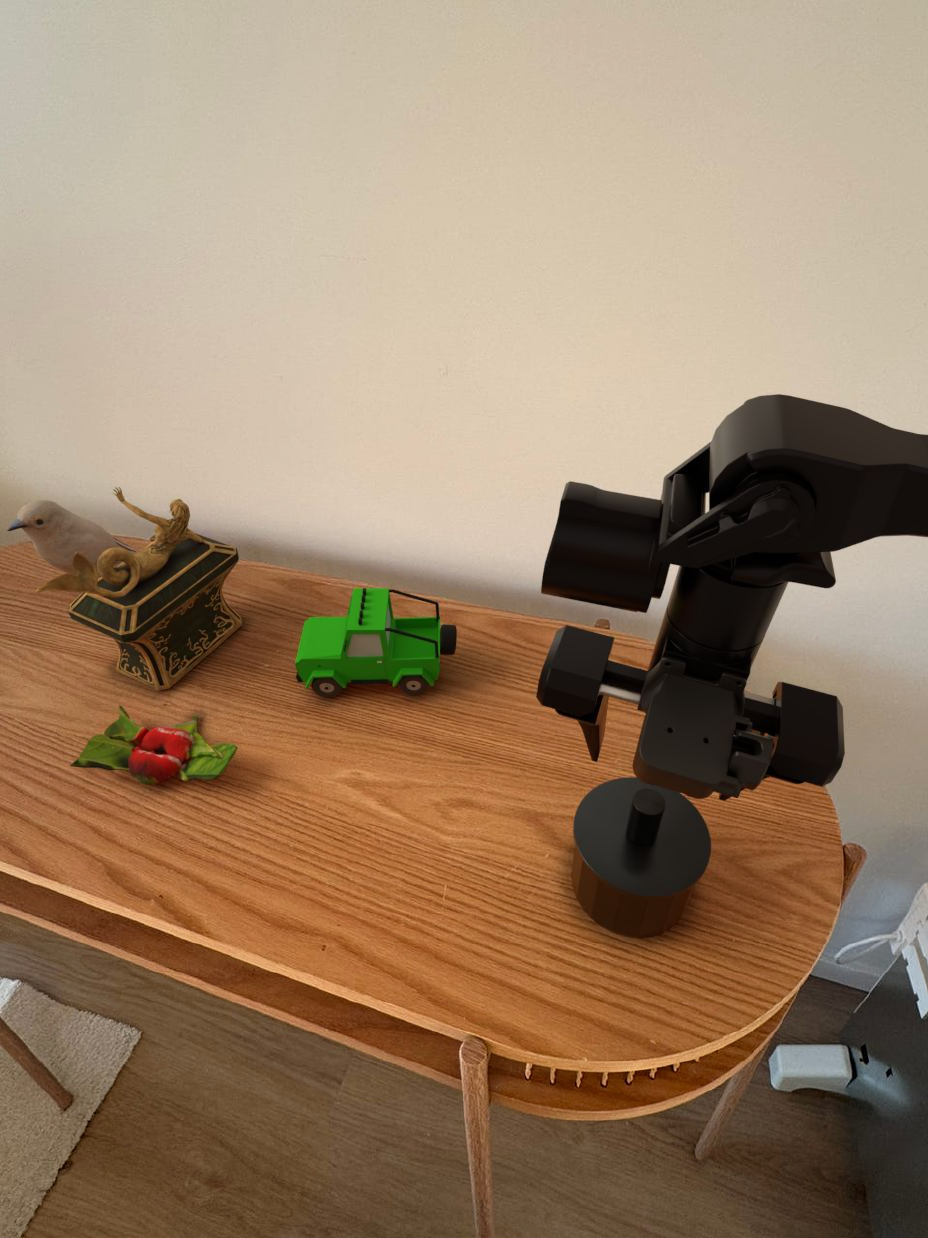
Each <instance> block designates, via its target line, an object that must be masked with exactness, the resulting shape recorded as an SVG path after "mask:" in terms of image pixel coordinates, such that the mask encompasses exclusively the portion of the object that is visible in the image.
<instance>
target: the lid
mask: <svg viewBox="0 0 928 1238" xmlns="http://www.w3.org/2000/svg"><path fill="white" fill-rule="evenodd" d="M572 833H573V834H572V835H573V842H574V845H575V846H576V848H577V851H578V853H579V855H580V857H581V859H582V861H583V862H584V864H585V865H586V867H587V868H588V869H589V870H590V871H591V872H592V874H593V875H594V876H596V877H597V878H598V879H599V880H600V881H601V882H603V883H604V884H606V885H607V886H609V887H610V888H612V889H614V890H616V891H618V892H621V893H623V894H625V895H629V896H632V897H636V898H642V899H664V898H668V897H673V896H676V895H678V894H681V893H683V892H685V891H686V890H688V889H690V888H691V887H692V886H693V885H695V884H696V885H697V883H698V882H699V881H700V880H701V878H703V876H704V874H705V873H706V871H707V868H708V865H709V863H710V859H711V854H712V840H711V835H710V830H709V828H708V825H707V822H706V821H705V819H704V817H703V816H702V814H701V812H700V811H699V810H698V808H697V807H696V806H695V805H694V803H692V802H691V800H689V799H688V798H687V796H686V795H684V794H683V793H679V792H676V791H673V790H670V789H666V788H663V787H660V786H655V785H650V784H646V783H644V782H642V781H640V780H639V779H638V778H637V777H636V776H631V777H630V776H629V777H618V778H613V779H611V780H607V781H605V782H602V783H601V784H598V785H597V786H595V787H593V788H592V789H591V790H590V791H589V792H588V793H586V795H585V796H584V797H583V798H582V799H581V801H580V802H579V804H578V805H577V808H576V810H575V813H574V818H573V828H572ZM575 846H574V847H575ZM696 885H695V886H696Z"/></svg>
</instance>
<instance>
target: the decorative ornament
mask: <svg viewBox="0 0 928 1238" xmlns="http://www.w3.org/2000/svg"><path fill="white" fill-rule="evenodd" d="M118 711H119V715H118V719H116V720H115V721H114V722H112V723H111V724H110V725H109V726H107V727H106V728H105V730H104V731H103V734H102V733H98V734H95V735H93V736H91V737H90V739H89V740H88V741H87V743H86V745H85V746H84V748H83V750H82V751H81V754H80V755H79V756H78V758H77V759H76V760H75V761H73V762H72V763H70V767H72V768H83V769H95V768H96V769H102V770H106V771H124V772H129V773H130V776H131V777H132V778H134V779H135V781H136V782H138V783H141V784H142V785H143V786H144V785H145V786H150V787H152V786H155V785H158V784H160V783H162V782H164V781H166V780H167V779H170V778H172V777H173V776H174V775H175V774H176V773H178V778H180V779H181V781H184V782H188V781H192V780H205V781H207V782H208V781H214V780H215V781H216V780H217V779H218V778H220V777H221V775H222V774H223V773H224V772H225V771H226V769H227V768H228V766H229V764H230V762H231V761H232V759H233V758H234V756H235V754H236V753H237V751H238V746H237V745H236V744H232V743H224V742H222V743H218V744H213V745H210V744H208V743H207V741H206V739H205V737H204V736H203V735H201V734H200V733H198V723H199V722H198V721H199V716H198V715H197V714H194V715H193V716H192V718H191V719H190V720H189V721H186V722H181V723H177V724H174V725H172V726H171V725H170V726H169V727H166V726H156V727H153V728H152V729H149V730H148V728H147V727H145V726H142V725H140V724H139V723H137V722H135V720H134V719H133V718H131V717H130V716H129V714H128V713H127V711H126V710H125V708H124V707H123V706H122V705H119V706H118ZM190 749H191V750H190Z"/></svg>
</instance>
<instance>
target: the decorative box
mask: <svg viewBox="0 0 928 1238" xmlns="http://www.w3.org/2000/svg"><path fill="white" fill-rule="evenodd" d="M112 490H113V491H114V492H115V493H114V492H112V494H113V495H114V496H115V497H116V498H117V499H118V501H119V502H120V503H121V504H122V505H124V506H125V507H126V508H127V509H129V510H130V512H132V513H134V514H135V515H136V516H138V517H139V518H143V519H144V520H146V521H149V522H151V523H153V524H155V525H156V526H155V527H154V532H155V538H154V541H152V542H150V543H149V544H147V545H145V547H142V548H140V549H139V550H137V552H135V553H134V554H132V553H131V552H130V551H128V550H126V549H123V548H110V549H107V550H106V551H104V552H103V553H102V554H101V555H100V557H99V559H98V562H97V569H96V567H95V566H94V564H93V563H92V562H91V561H90V560H89V559H88V558H86V557H85V556H84V555H82V554H81V553H79V552H76V553H75V554H74V556H73V562H72V565H73V568H74V569H75V570H76V571H77V572H78V574H77V575H75V574H72V573H67V572H65V573H63V574H60V575H58V576H56V577H53V578H52V579H49V580H47V581H45V582H44V583H42V584H41V585H40V586H38V587H37V589H36V591H35V593H36V594H39V593H42V592H46V591H60V592H66V593H79V595H77V597H76V598H75V599H74V600H73V601H72V602H71V603H70V605H69V606H68V610H67V614H68V616H70V617H69V618H70V619H71V620H72V621H74V622H77V623H79V624H80V625H83V626H86V627H88V628H89V629H92V630H94V631H97V632H99V633H101V634H103V635H105V636H107V637H109V638H112V639H113V640H114V641H115V643H116V645H117V647H118V657H117V660H116V661H117V662H116V671H117V673H120V674H122V675H124V676H125V677H128V678H130V679H133V680H134V681H136V682H138V683H141V684H143V685H145V686H147V687H149V688H151V689H154V690H155V691H158V692H159V691H165V690H169V689H171V687H173V686H174V685H175V684H176V683H178V682H179V681H181V679H182V678H183V677H185V676H186V675H187V674H188V673H189V672H190V671H191V670H192V669H194V668H195V667H196V666H198V665H199V663H201V662H202V661H203V660H204V659H205V658H206V657H208V656H209V655H210V654H211V653H213V651H215V650H216V649H217V648H218V647H219V646H220V645H221V644H222V643H223V642H225V641H226V640H227V639H228V638H229V637H231V635H233V634H234V633H235V632H236V631H238V630H239V629H240V628H241V627H242V626H243V619H242V617H241V616H240V615H239V614H238V612H236V611H235V610H234V609H233V608H232V607H231V606H230V605H229V603H228V602H227V601H226V599H225V596H224V594H223V588H224V584H225V581H226V580H227V579H226V578H227V577H228V576H229V574H230V573H231V572H232V571H233V569H234V567H236V565H237V564H238V562H239V560H240V556H239V555H240V554H239V551H238V548H237V547H235V546H233V545H231V544H227V543H224V542H222V541H219V540H217V539H213V538H210V537H207V536H204V535H202V534H199V533H197V532H194V530H192V529H190V528H188V527H189V523H190V519H191V512H190V508H189V506H188V504H187V503H185V502H184V501H183V500H182V499H181V498H176V499H174V500H172V501H171V502H170V503H169V512H170V514H171V516H172V518H169V519H167V518H165V517H162V516H156V515H153V514H151V513H148V512H146V511H144V510H143V509H141V508H140V507H138V506H137V505H134V504H132V503H130V502H128V501H127V500H126V499H125V496H124V494H123V490H122V488H121V487H120V486H119V487H116V486H115V487H114V488H113V489H112ZM116 561H123V563H121V564H120V565H118V566H117V567H113V565H114V563H115V562H116ZM97 570H98V572H99V574H100V576H101V577H100V578H98V573H97Z"/></svg>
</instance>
